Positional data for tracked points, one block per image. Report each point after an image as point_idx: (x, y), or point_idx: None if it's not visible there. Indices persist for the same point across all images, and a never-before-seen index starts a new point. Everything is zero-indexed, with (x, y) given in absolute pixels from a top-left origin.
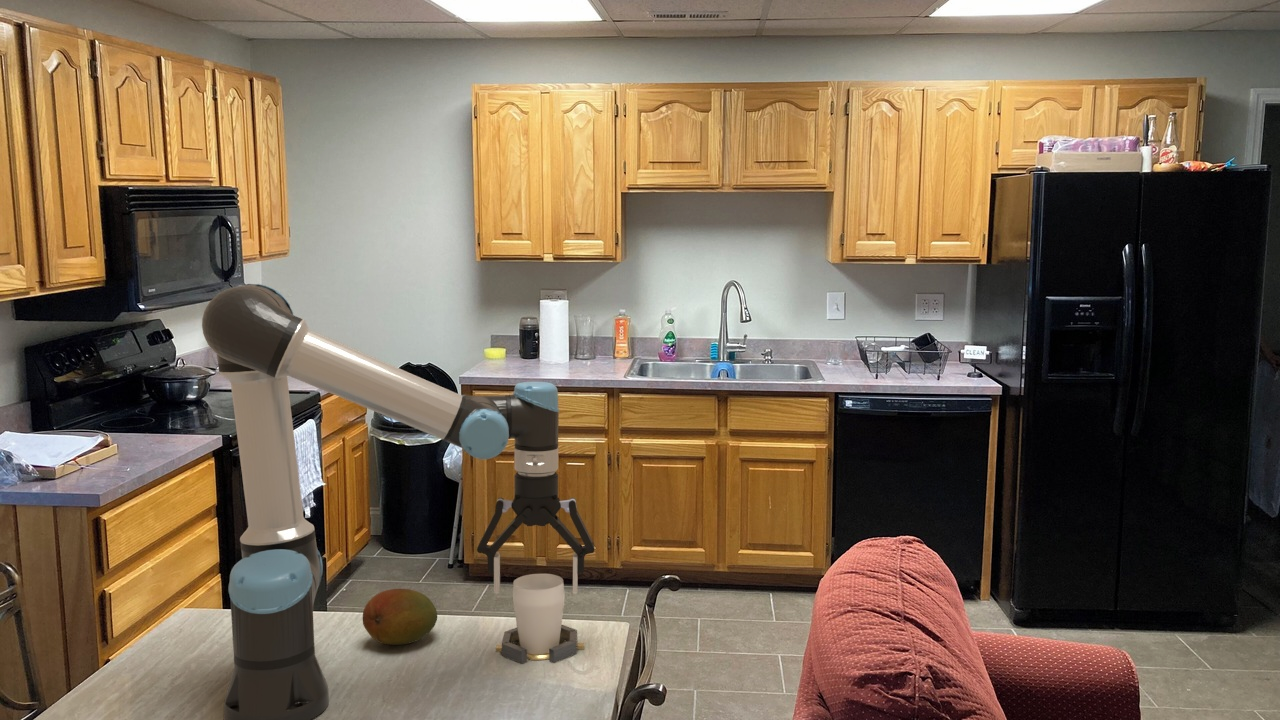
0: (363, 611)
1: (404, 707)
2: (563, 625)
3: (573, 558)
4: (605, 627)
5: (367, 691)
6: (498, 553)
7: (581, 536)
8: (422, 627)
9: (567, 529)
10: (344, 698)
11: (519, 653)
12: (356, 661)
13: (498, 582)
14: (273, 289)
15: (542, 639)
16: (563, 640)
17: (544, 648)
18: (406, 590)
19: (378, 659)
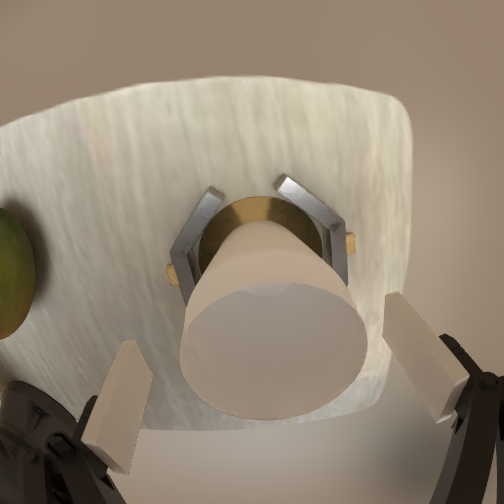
0: None
1: (142, 426)
2: (307, 193)
3: (436, 420)
4: (384, 124)
5: (80, 396)
6: (96, 445)
7: (500, 468)
8: (31, 300)
9: (477, 497)
10: (73, 405)
11: None
12: None
13: (144, 398)
14: None
15: (279, 316)
16: (305, 214)
17: (280, 300)
18: None
19: (27, 319)
